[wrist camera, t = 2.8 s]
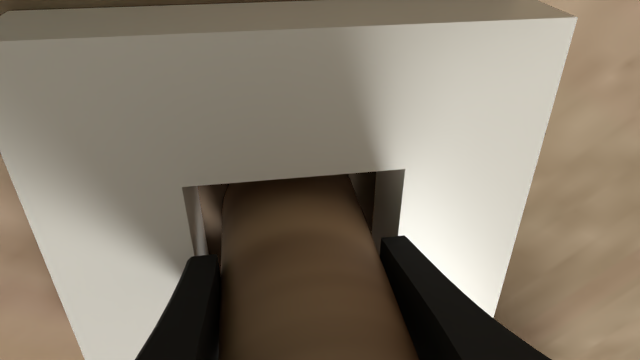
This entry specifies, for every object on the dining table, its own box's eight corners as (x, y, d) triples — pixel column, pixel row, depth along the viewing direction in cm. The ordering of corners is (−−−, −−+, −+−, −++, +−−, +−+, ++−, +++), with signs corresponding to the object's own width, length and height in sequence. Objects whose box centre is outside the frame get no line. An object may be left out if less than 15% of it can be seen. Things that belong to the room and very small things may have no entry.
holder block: (450, 321, 19) (477, 375, 17) (126, 361, 17) (112, 426, 15) (520, -7, 12) (577, 17, 10) (8, 11, 11) (-45, 43, 9)
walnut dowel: (352, 252, 16) (430, 497, 10) (229, 264, 15) (228, 532, 9) (357, 144, 14) (462, 371, 8) (215, 155, 13) (200, 407, 7)
